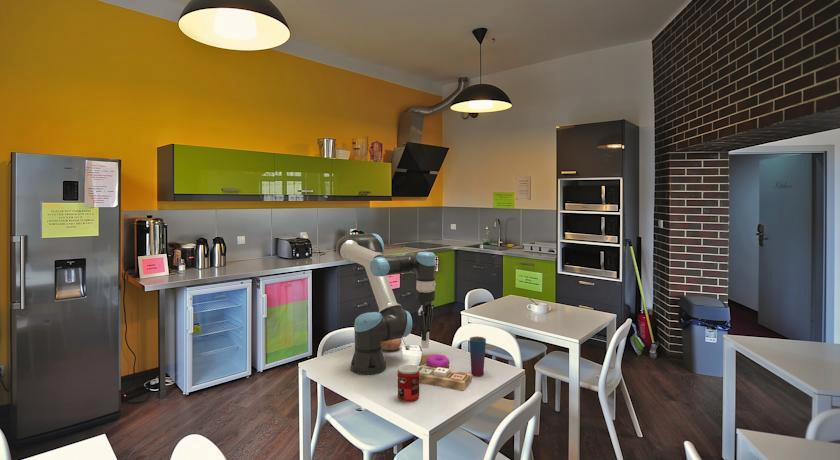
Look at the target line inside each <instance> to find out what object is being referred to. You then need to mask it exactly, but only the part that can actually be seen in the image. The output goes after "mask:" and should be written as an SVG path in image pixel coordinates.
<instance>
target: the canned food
mask: <svg viewBox="0 0 840 460" xmlns="http://www.w3.org/2000/svg"><path fill="white" fill-rule="evenodd" d="M419 367H420V366H417V365H414V364H413V365H412V364H402V365H401V366H399V367H397V397H398V400H400V401H402V402H405V403H408V402H409V403H411V402H415V401H417V400H418V399H419V397H420V383H419Z"/></svg>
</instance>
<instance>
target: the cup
mask: <svg viewBox="0 0 840 460" xmlns="http://www.w3.org/2000/svg"><path fill="white" fill-rule="evenodd" d="M486 343H487V339H486V338H485V337H483V336H477V335H476V336H470V337H469V353H470V355H469V356H470V370H471V371H470V372H471V373H470V374H472V377H473V376H474V377H482V376H484V373H485V371H484V370H485V358H486V346H487V345H486Z"/></svg>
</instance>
